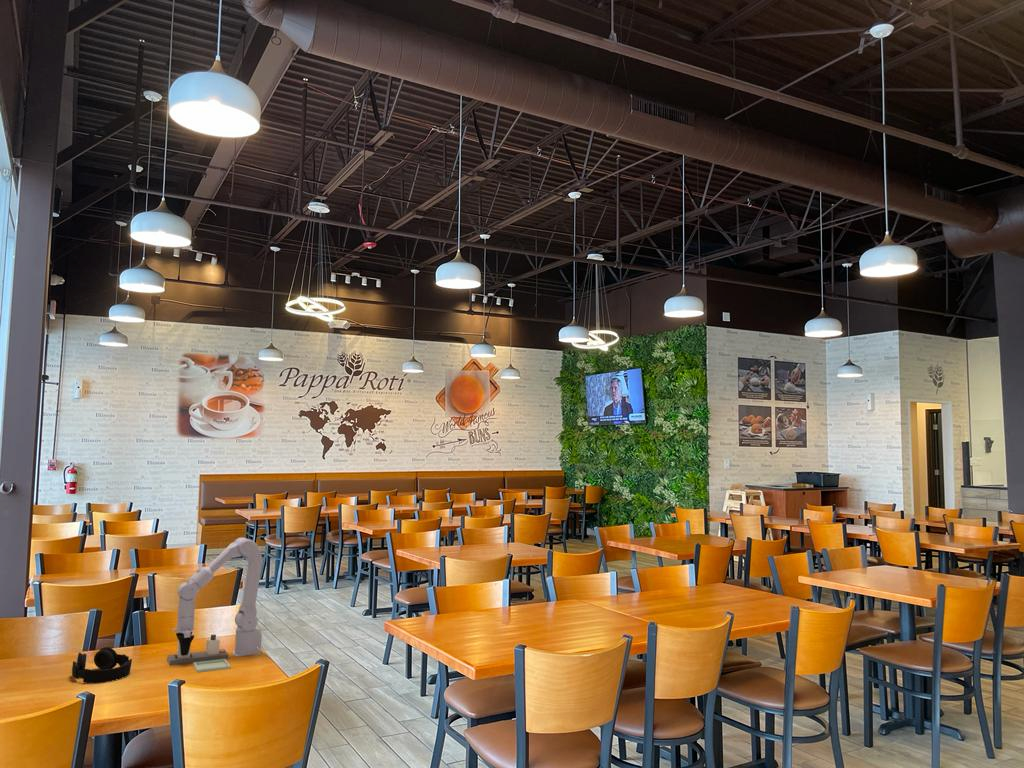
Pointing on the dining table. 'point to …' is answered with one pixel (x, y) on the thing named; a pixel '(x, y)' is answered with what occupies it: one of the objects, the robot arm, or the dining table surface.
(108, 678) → the headphones
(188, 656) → the plug
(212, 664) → the tray
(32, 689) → the dining table surface
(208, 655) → the power strip
